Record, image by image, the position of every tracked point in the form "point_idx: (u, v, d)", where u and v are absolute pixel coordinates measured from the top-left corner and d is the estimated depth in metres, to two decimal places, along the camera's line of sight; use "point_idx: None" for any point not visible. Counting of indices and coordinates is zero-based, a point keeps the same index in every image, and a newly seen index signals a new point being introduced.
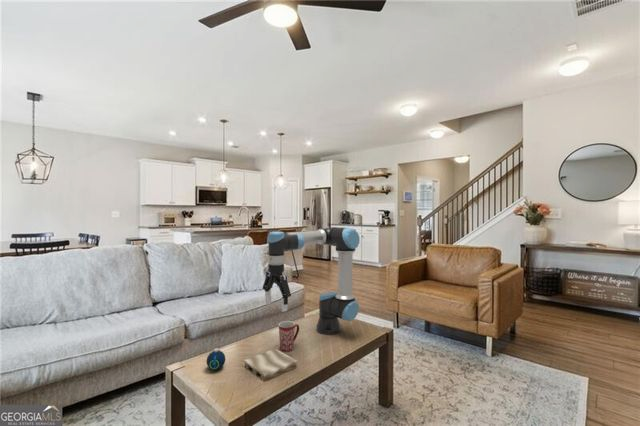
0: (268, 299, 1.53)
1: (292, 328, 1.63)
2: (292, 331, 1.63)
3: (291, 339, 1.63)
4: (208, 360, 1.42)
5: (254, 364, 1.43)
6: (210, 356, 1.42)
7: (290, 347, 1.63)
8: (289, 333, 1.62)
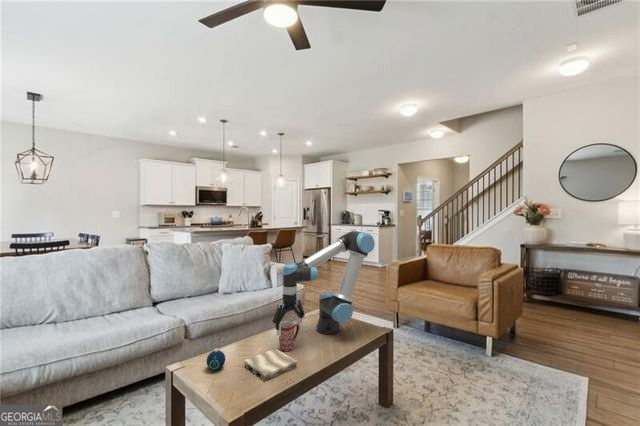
0: (298, 324, 1.71)
1: (292, 328, 1.63)
2: (292, 331, 1.63)
3: (291, 339, 1.63)
4: (208, 360, 1.42)
5: (254, 364, 1.43)
6: (210, 356, 1.42)
7: (290, 347, 1.63)
8: (289, 333, 1.62)
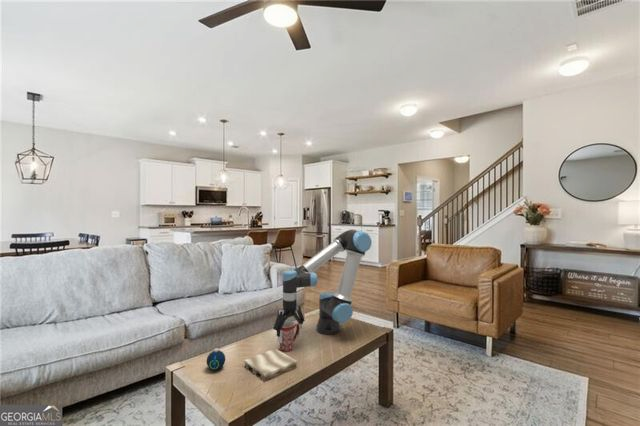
0: None
1: (292, 328, 1.63)
2: (292, 331, 1.63)
3: (291, 339, 1.63)
4: (208, 360, 1.42)
5: (254, 364, 1.43)
6: (210, 356, 1.42)
7: (290, 347, 1.63)
8: (289, 333, 1.62)
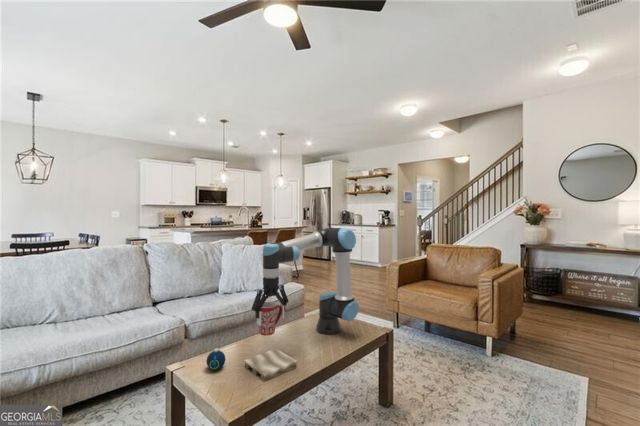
0: (281, 313, 1.51)
1: (273, 309, 1.43)
2: (273, 312, 1.43)
3: (272, 321, 1.43)
4: (208, 360, 1.42)
5: (254, 364, 1.43)
6: (210, 356, 1.42)
7: (270, 331, 1.43)
8: (269, 314, 1.42)
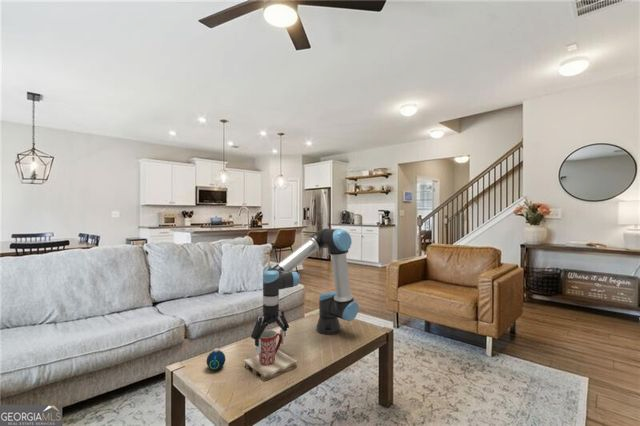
0: None
1: (273, 339, 1.43)
2: (273, 342, 1.43)
3: (272, 351, 1.43)
4: (208, 360, 1.42)
5: (254, 364, 1.43)
6: (210, 356, 1.42)
7: (270, 360, 1.43)
8: (269, 344, 1.42)
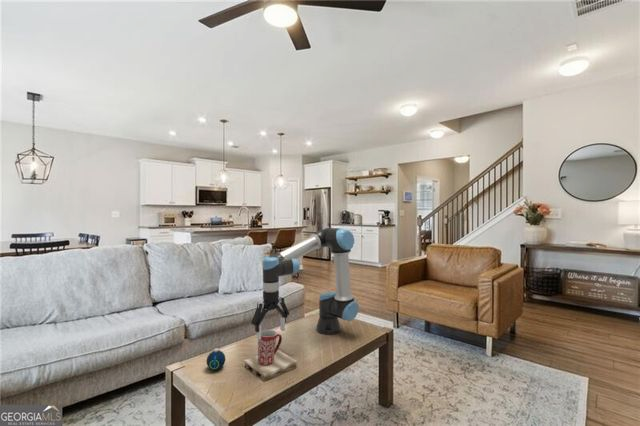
0: (281, 325, 1.51)
1: (273, 338, 1.43)
2: (273, 342, 1.43)
3: (271, 351, 1.43)
4: (208, 360, 1.42)
5: (254, 364, 1.43)
6: (210, 356, 1.42)
7: (269, 360, 1.42)
8: (269, 344, 1.42)
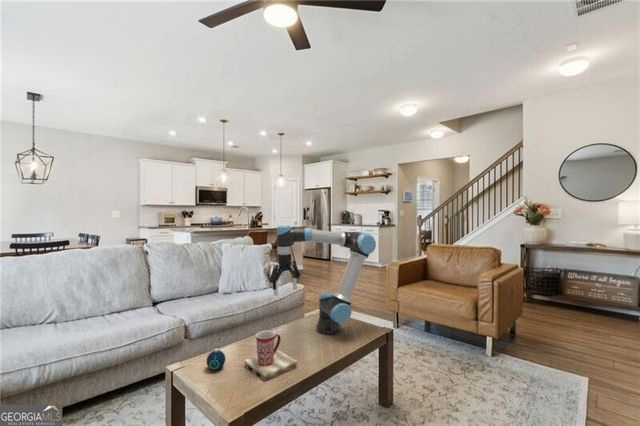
0: (294, 285, 1.72)
1: (271, 339, 1.42)
2: (271, 343, 1.42)
3: (270, 352, 1.42)
4: (208, 360, 1.42)
5: (254, 364, 1.43)
6: (210, 356, 1.42)
7: (269, 361, 1.42)
8: (267, 345, 1.41)
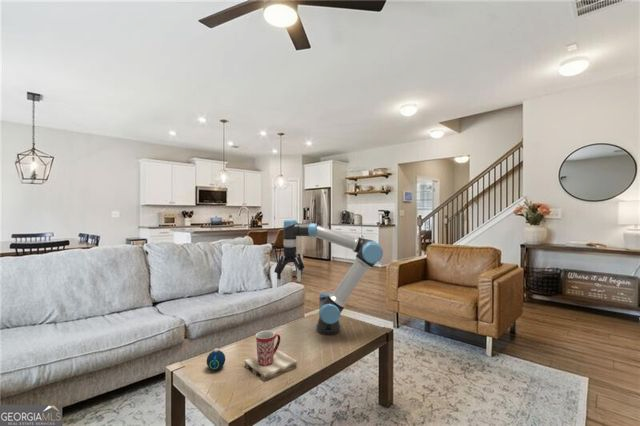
0: (298, 276, 1.82)
1: (271, 339, 1.42)
2: (271, 343, 1.42)
3: (270, 352, 1.42)
4: (208, 360, 1.42)
5: (254, 364, 1.43)
6: (210, 356, 1.42)
7: (269, 361, 1.42)
8: (267, 345, 1.41)
